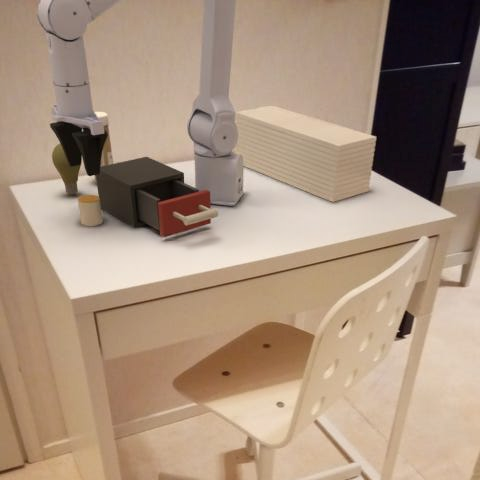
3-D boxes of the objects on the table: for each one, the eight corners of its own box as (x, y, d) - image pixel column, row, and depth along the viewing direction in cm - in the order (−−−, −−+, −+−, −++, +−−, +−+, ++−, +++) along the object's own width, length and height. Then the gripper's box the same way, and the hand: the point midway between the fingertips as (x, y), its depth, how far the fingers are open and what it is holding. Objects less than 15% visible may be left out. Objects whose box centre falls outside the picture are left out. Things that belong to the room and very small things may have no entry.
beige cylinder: (106, 219, 114) (103, 195, 112) (97, 227, 111) (93, 203, 109) (87, 217, 115) (83, 193, 112) (77, 224, 112) (73, 200, 109)
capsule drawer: (227, 231, 108) (226, 198, 105) (179, 246, 103) (177, 212, 99) (174, 205, 118) (173, 174, 114) (128, 217, 113) (125, 186, 109)
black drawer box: (185, 213, 117) (184, 172, 112) (134, 228, 111) (130, 185, 106) (150, 195, 124) (146, 156, 120) (100, 208, 119) (94, 167, 114)
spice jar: (120, 182, 130) (112, 113, 122) (102, 187, 128) (93, 117, 119) (107, 177, 133) (99, 109, 124) (90, 182, 130) (80, 113, 122)
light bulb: (92, 192, 125) (84, 141, 119) (75, 201, 121) (67, 148, 115) (70, 188, 127) (61, 137, 121) (53, 197, 123) (43, 144, 117)
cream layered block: (235, 162, 142) (235, 111, 135) (270, 154, 147) (272, 105, 140) (332, 202, 122) (338, 145, 116) (368, 191, 128) (376, 136, 121)
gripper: (28, 78, 101) (44, 164, 109) (70, 94, 92) (84, 185, 101) (67, 73, 104) (80, 156, 113) (110, 88, 96) (120, 176, 104)
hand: (84, 169), depth 107 cm, fingers open, 6 cm apart
